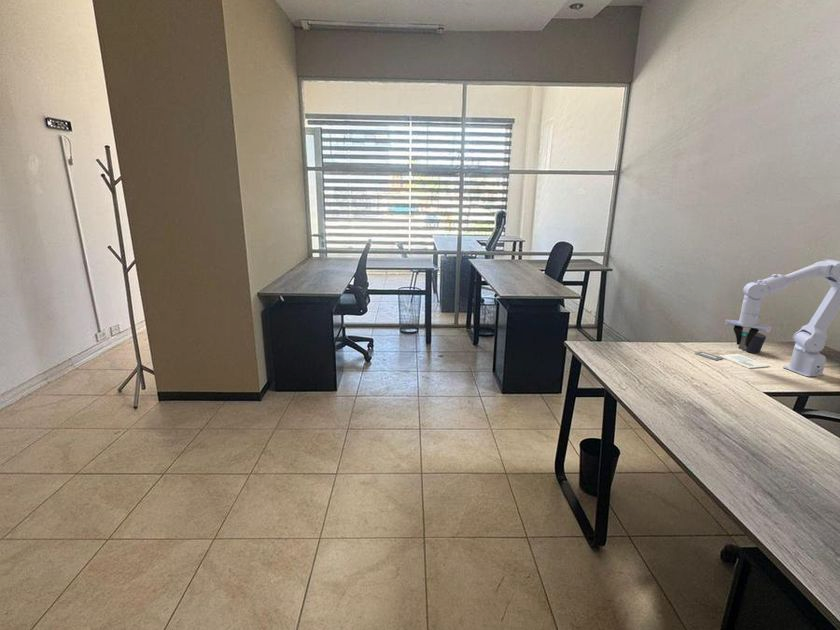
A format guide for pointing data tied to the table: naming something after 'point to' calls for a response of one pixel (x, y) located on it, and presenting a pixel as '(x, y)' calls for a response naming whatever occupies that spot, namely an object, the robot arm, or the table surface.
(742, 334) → the marker
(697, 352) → the plate
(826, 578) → the table surface
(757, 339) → the speaker
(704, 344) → the table surface
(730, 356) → the paper
